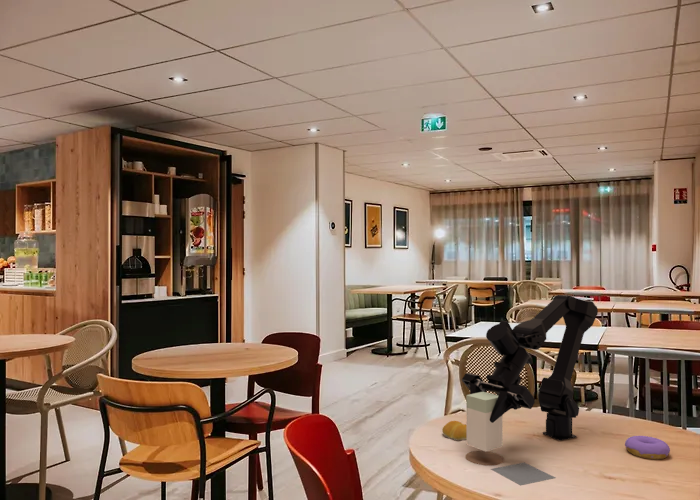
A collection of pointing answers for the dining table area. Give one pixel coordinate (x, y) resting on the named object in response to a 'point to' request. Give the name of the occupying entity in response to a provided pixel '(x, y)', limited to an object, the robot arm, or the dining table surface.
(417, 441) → the dining table surface
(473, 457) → the disc
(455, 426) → the bread roll
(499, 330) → the robot arm
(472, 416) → the carton
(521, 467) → the mat
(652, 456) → the donut
